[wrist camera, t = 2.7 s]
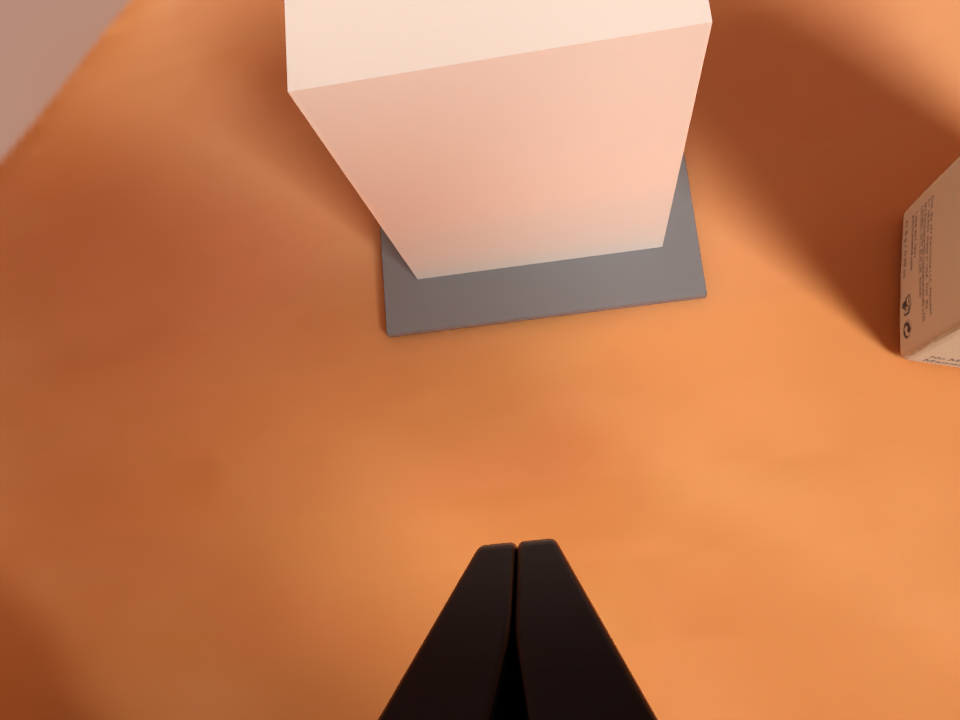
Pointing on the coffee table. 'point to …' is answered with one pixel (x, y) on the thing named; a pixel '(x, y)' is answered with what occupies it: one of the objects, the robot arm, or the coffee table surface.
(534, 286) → the mat
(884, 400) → the coffee table surface
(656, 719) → the robot arm
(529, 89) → the tile
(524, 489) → the coffee table surface
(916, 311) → the box
